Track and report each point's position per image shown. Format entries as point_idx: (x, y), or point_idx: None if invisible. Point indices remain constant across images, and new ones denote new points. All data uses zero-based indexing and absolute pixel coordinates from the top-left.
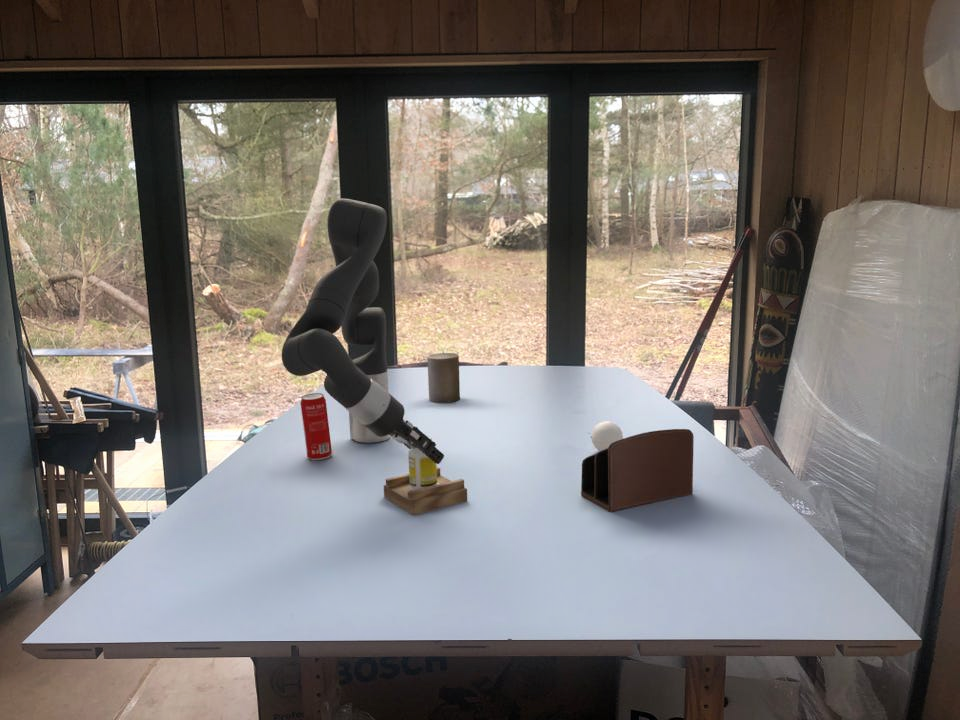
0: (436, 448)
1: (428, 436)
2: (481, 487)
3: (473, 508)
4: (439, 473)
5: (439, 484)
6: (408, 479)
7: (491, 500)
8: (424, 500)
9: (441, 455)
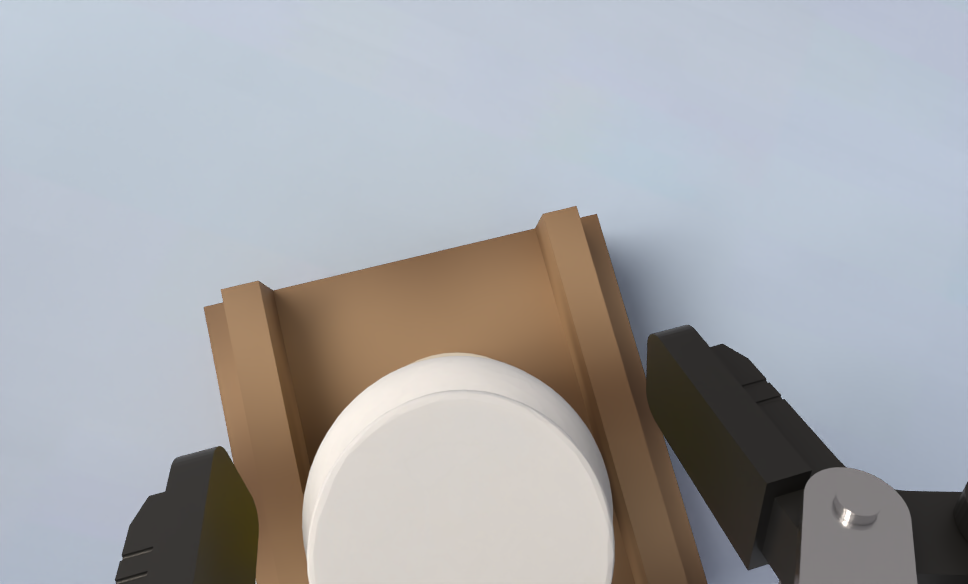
0: (759, 412)
1: (431, 424)
2: (403, 93)
3: (691, 241)
4: (270, 295)
5: (601, 390)
6: None
7: (614, 117)
8: (689, 526)
9: (747, 366)
